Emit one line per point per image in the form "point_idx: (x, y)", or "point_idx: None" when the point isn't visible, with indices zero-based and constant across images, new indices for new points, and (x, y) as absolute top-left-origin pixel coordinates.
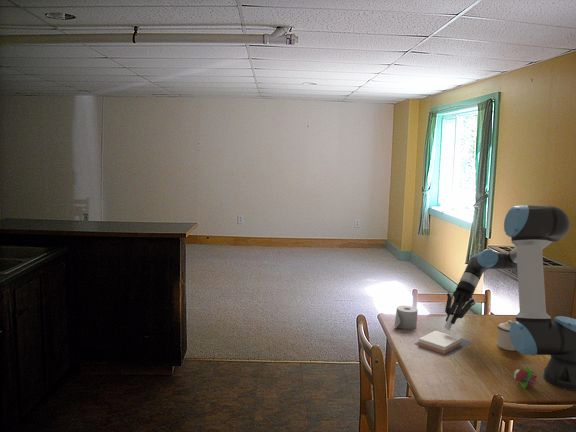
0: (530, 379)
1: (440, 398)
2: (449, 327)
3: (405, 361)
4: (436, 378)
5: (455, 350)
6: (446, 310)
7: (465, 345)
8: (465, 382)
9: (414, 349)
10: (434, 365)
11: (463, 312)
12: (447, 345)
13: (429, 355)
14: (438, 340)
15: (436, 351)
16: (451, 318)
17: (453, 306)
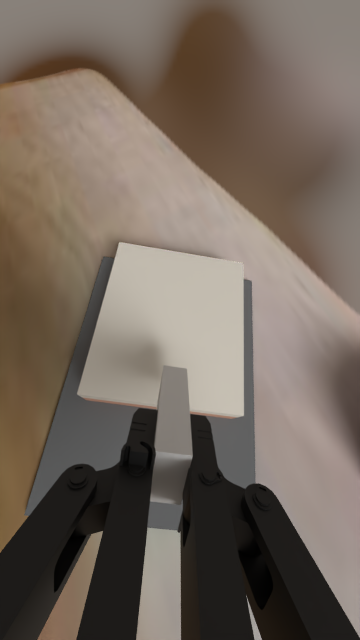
0: None
1: (60, 77)
2: (158, 399)
3: (200, 171)
4: (93, 132)
5: (92, 318)
6: (263, 501)
7: (60, 412)
8: (16, 141)
9: (226, 250)
10: (123, 185)
11: (17, 545)
12: (114, 261)
13: (164, 235)
14: (168, 289)
15: None
16: (159, 419)
17: (212, 622)
